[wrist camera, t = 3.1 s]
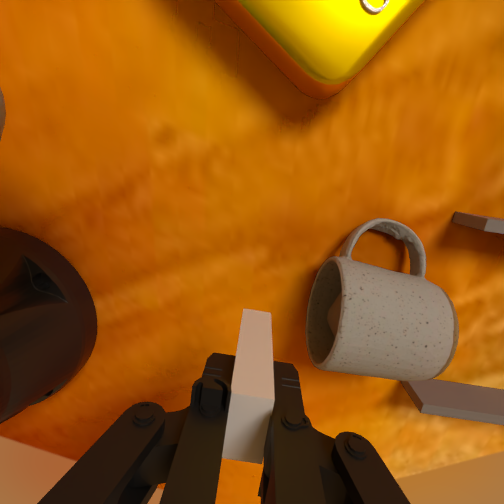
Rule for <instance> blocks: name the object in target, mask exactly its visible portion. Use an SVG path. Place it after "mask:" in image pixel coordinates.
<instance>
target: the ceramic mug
mask: <svg viewBox="0 0 504 504" xmlns="http://www.w3.org/2000/svg"><path fill="white" fill-rule="evenodd" d="M370 228H371V229H375V230H378V231H381V232H384V233H387V234H389V235H392V236H393V237H394V238H395V239H398V240H402V241H403V242H404V243H405V245H406V247H407V249H408V252H409V258H410V275H409V274H405V273H400V272H395V271H391V270H387V269H384V268H380V267H377V266H372V265H369V264H366V263H362V262H358V261H353V260H352V259H351V252H352V249H353V247H354V246H355V243H356V242H357V240H358V238H359V237H360V235H361V234H362V233H363V232H365V231H366V230H368V229H370ZM425 272H426V255H425V251H424V247H423V244H422V242H421V241H420V239H419V238H418V236H417V235H416V234H415V233H414V232H413V231H412V230H411V229H410V228H408V227H407V226H405V225H404V224H402V223H400V222H397V221H394V220H390V219H382V218H377V219H374V220H370V221H368V222H366V223H364V224H362V225H360V226H359V227H357V228H356V229H355V230H353V231H352V232H351V234H350V235H349V236H348V237H347V239H346V241H345V242H344V245H343V247H342V249H341V251H340V255H339V257H336V256H333V257H330V258H328V259H327V260H326V261H325V262H324V263H323V265H322V266H321V268H320V269H319V271H318V273H317V275H316V279H315V281H314V284H313V286H312V289H311V294H310V298H309V301H308V307H307V316H306V330H305V334H306V344H307V350H308V354H309V357H310V360H311V362H312V363H313V365H314V366H315V367H317V368H319V369H321V370H325V371H335V372H341V373H349V374H355V375H362V376H371V377H380V378H386V379H392V380H399V381H423V380H430V379H433V378H435V377H437V376H439V375H440V374H441V373H442V372H444V370H445V369H446V368H447V367H448V366H449V364H450V362H451V360H452V358H453V356H454V354H455V350H456V347H457V343H458V336H459V326H458V319H457V314H456V311H455V308H454V305H453V302H452V301H451V299H450V298H449V296H448V295H447V294H446V292H445V291H444V290H443V289H442V288H440V287H439V286H437V285H435V284H433V283H431V282H429V281H427V280H426V279H425V278H424V275H425Z"/></svg>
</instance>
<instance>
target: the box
mask: <svg viewBox="0 0 504 504" xmlns="http://www.w3.org/2000/svg"><path fill="white" fill-rule="evenodd" d="M452 222H454V223H457V224H461V225H464V226H468V227H472V228H475V229H479V230H483V231H488V232H495V233H501V234H504V219H500V218H494V217H487V216H481V215H474V214H468V213H461V212H455V214H454V217H453V220H452ZM401 384H402V385H403V387H404V388H405V390H406V391H407V393H408V394H409V396H410V397H411V399H412V401H413V402H414V404H415V405H416V407H417V408H418V410H419V411H420V413H425V414H432V415H439V416H445V417H452V418H459V419H465V420H472V421H479V422H486V423H492V424H499V425H504V390H502V389H495V388H488V387H482V386H475V385H468V384H462V383H455V382H448V381H442V380H435V379H430V380H423V381H401Z"/></svg>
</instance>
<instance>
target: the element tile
mask: <svg viewBox="0 0 504 504" xmlns="http://www.w3.org/2000/svg"><path fill="white" fill-rule="evenodd" d="M214 1H215V3H216V4H217V5H218V6H219V7H220V8H221V9H222V10H223V11H224V12H225V13H226V14H227V15H228V16H229V17H230V18H231V19H232V20H233V21H234V22H235V23H236V24H237V26H238V27H239V28H240V29H241V30H242V31H243V32H244V33H245V34H246V35H247V36H248V37H249V38H250V39H251V40H252V41H253V42H254V43H255V44H256V45H257V46H258V47H259V48H260V50H261V51H262V52H263V53H264V54H265V55H266V56H267V57H268V58H269V59H270V60H271V61H272V62H273V63H274V64H275V65H276V66H277V67H278V68H279V69H280V70H281V71H282V72H283V74H284V75H285V76H286V77H287V78H288V79H289V80H290V81H291V82H292V83H293V84H294V85H295V86H296V87H297V88H298V89H299V90H300V91H301V92H303V93H304V94H305V95H307V96H310V97H312V98H315V99H327V98H329V97H331V96H333V95H335V94H337V93H338V92H339V91H341V90H342V89H343V88H344V87H345V86H346V85H347V84H348V83H349V82H350V81H351V80H352V79H353V78H354V77H355V76H356V75H357V74H358V73H359V72H360V71H361V70H362V69H363V68H364V67H365V66H366V65H367V64H368V62H369V61H370V60H371V59H372V58H373V57H374V56H375V55H376V54H377V53H378V51H379V50H380V49H381V48H382V47H383V46H384V45H385V44H386V43H387V42H388V40H389V39H390V38H391V37H392V36H393V35H394V34H395V33H396V32H397V31H398V30H399V28H400V27H401V26H402V25H403V24H404V23H405V22H406V21H407V20H408V19H409V17H410V16H411V15H412V14H413V13H414V12H415V11H416V10H417V9H418V8H419V6H420V5H421V4H422V3H423V2H424V1H425V0H214Z"/></svg>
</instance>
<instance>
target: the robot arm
mask: <svg viewBox="0 0 504 504" xmlns="http://www.w3.org/2000/svg"><path fill="white" fill-rule="evenodd" d="M5 116H6V110H5V101H4V96H3V93H2V91H1V88H0V140H1V136H2V132H3V128H4V125H5ZM96 335H97V317H96V311H95V306H94V303H93V300H92V297H91V295H90V292H89V290H88V288H87V286H86V284H85V282H84V281H83V279H82V278H81V276H80V275H79V273H78V272H77V271H76V269H75V268H74V267H73V266H72V265H71V264H70V263H69V262H68V261H67V260H66V259H65V258H64V257H63V256H62V255H61V254H60V253H59V252H57V251H56V250H55V249H53V248H52V247H51V246H49V245H48V244H46V243H44V242H43V241H41V240H39V239H37V238H35V237H33V236H31V235H28V234H26V233H23V232H20V231H17V230H13V229H8V228H2V227H0V424H1V423H3V422H4V421H6V420H8V419H10V418H11V417H13V416H15V415H17V414H18V413H20V412H21V411H23V410H24V409H25V408H27V407H28V406H30V405H34V404H36V403H39V402H41V401H43V400H45V399H47V398H49V397H50V396H52V395H54V394H55V393H56V392H58V391H59V390H60V389H62V388H63V387H64V386H65V385H66V384H67V383H68V382H69V381H70V380H71V379H72V378H73V377H74V376H75V375H76V373H77V372H78V371H79V370H80V369H81V368H82V367H83V366H84V364H85V363H86V362H87V360H88V358H89V357H90V355H91V353H92V350H93V348H94V345H95V340H96ZM263 456H264V467H263V472H262V477H261V482H260V487H259V492H258V496H260V497H261V504H410V502H409V501H408V499H407V498H406V496H405V495H404V493H403V491H402V490H401V488H400V487H399V485H398V484H397V482H396V481H395V479H394V477H393V476H392V474H391V473H390V471H389V470H388V468H387V467H386V465H385V464H384V462H383V460H382V459H381V457H380V456H379V454H378V453H377V451H376V450H375V448H374V447H373V446H372V444H371V443H370V442H369V441H368V440H367V439H365V438H364V437H362V436H361V435H358V434H356V433H353V432H342V433H339V434H338V435H337V436H336V438H335V439H334V438H332V437H329V436H327V435H325V434H323V433H321V432H319V431H317V430H316V429H315V428H313V427H312V425H311V422H310V420H309V418H308V417H307V416H306V415H305V413H304V406H303V400H302V394H301V389H300V382H299V376H298V371H297V370H296V369H295V367H294V366H293V364H290V363H283V362H277V361H273V348H272V324H271V313H269V312H263V311H256V310H250V309H243V314H242V321H241V327H240V333H239V340H238V346H237V352H236V356H233V355H226V354H220V353H213V354H212V355H211V356H210V357H209V358H208V359H207V362H206V365H205V368H204V371H203V374H202V377H201V378H200V379H198V380H196V381H195V383H194V384H193V386H192V394H191V403H190V406H188V407H187V408H185V409H183V410H180V411H176V412H168V413H165V411H164V409H163V408H162V406H160V405H158V404H157V403H153V402H140V403H137V404H135V405H132V406H131V407H130V408H128V409H127V410H126V411H125V412H124V413H123V414H122V415H121V416H120V417H119V418H118V419H117V420H116V421H115V422H114V424H113V425H112V426H111V427H110V428H109V429H108V430H107V431H106V432H105V433H104V434H103V435H102V436H101V437H100V438H99V439H98V440H97V441H96V442H95V443H94V445H93V446H92V447H91V448H90V449H89V450H88V451H87V452H86V453H85V454H84V455H83V456H82V457H81V458H80V459H79V460H78V461H77V462H76V463H75V465H74V466H73V467H72V468H71V469H70V470H69V471H68V472H67V473H66V474H65V475H64V476H63V477H62V478H61V479H60V480H59V481H58V482H57V484H56V485H55V486H54V487H53V488H52V489H51V490H50V491H49V492H48V493H47V494H46V495H45V496H44V497H43V498H42V499H41V500H40V501H39V502H38V503H37V504H147V503H148V501H149V500H150V498H151V497H152V495H153V493H154V492H155V490H156V488H157V486H158V484H161V483H166V484H165V488H164V491H163V494H162V497H161V501H160V504H215V500H216V493H217V486H218V480H219V473H220V466H221V459H222V458H226V459H232V460H239V461H245V462H252V463H258V464H262V461H263Z"/></svg>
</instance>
